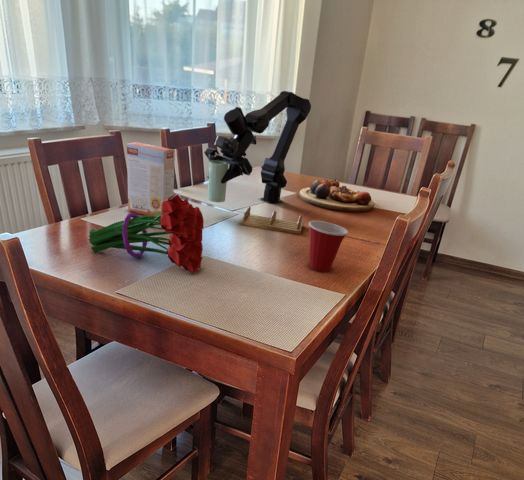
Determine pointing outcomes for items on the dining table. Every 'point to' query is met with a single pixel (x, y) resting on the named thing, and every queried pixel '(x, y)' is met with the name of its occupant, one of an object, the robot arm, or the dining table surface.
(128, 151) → the cracker box
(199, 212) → the bouquet
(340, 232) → the plastic cup
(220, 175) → the tumbler
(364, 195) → the wooden plate
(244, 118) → the robot arm
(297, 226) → the drying rack
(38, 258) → the dining table surface
